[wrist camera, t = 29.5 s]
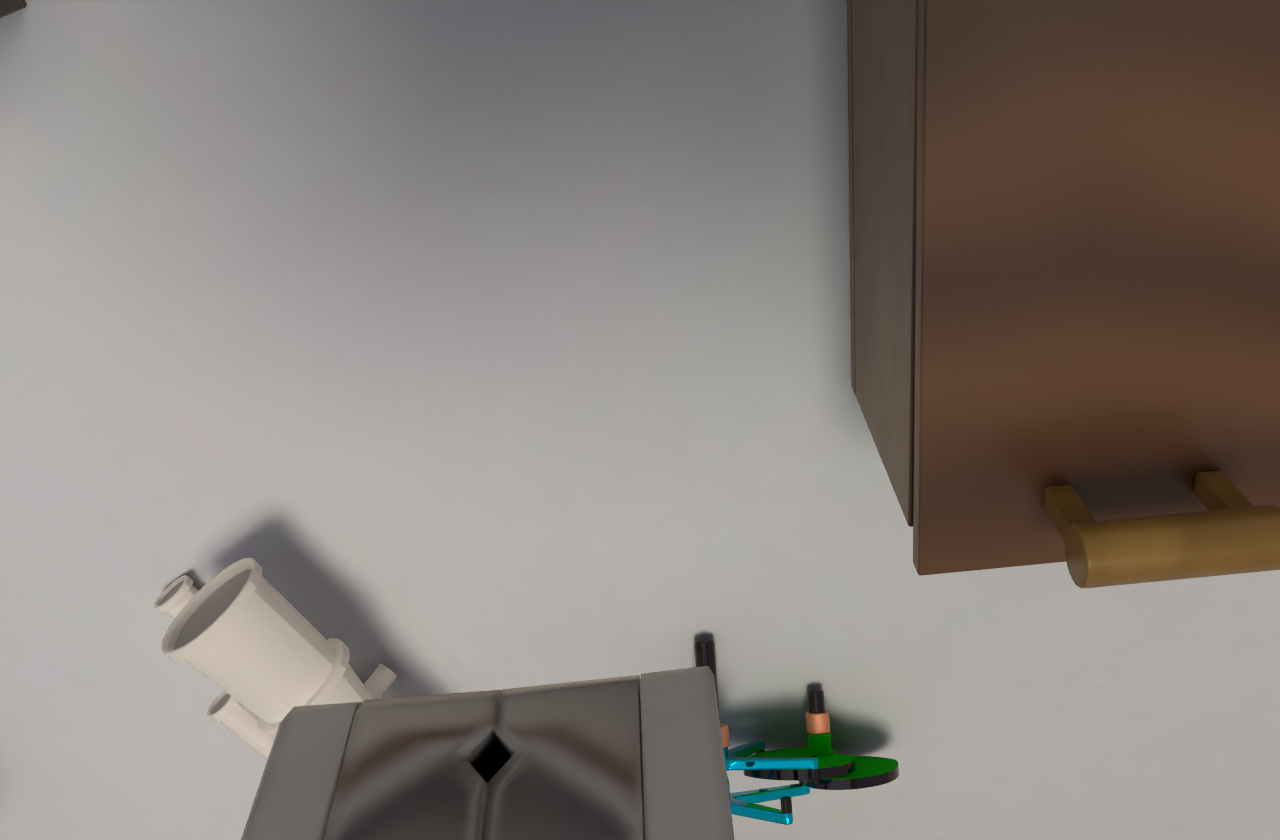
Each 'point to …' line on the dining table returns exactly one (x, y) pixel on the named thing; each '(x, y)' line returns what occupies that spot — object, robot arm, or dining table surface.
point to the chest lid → (1098, 288)
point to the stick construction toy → (794, 760)
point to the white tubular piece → (258, 652)
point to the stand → (10, 6)
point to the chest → (884, 227)
